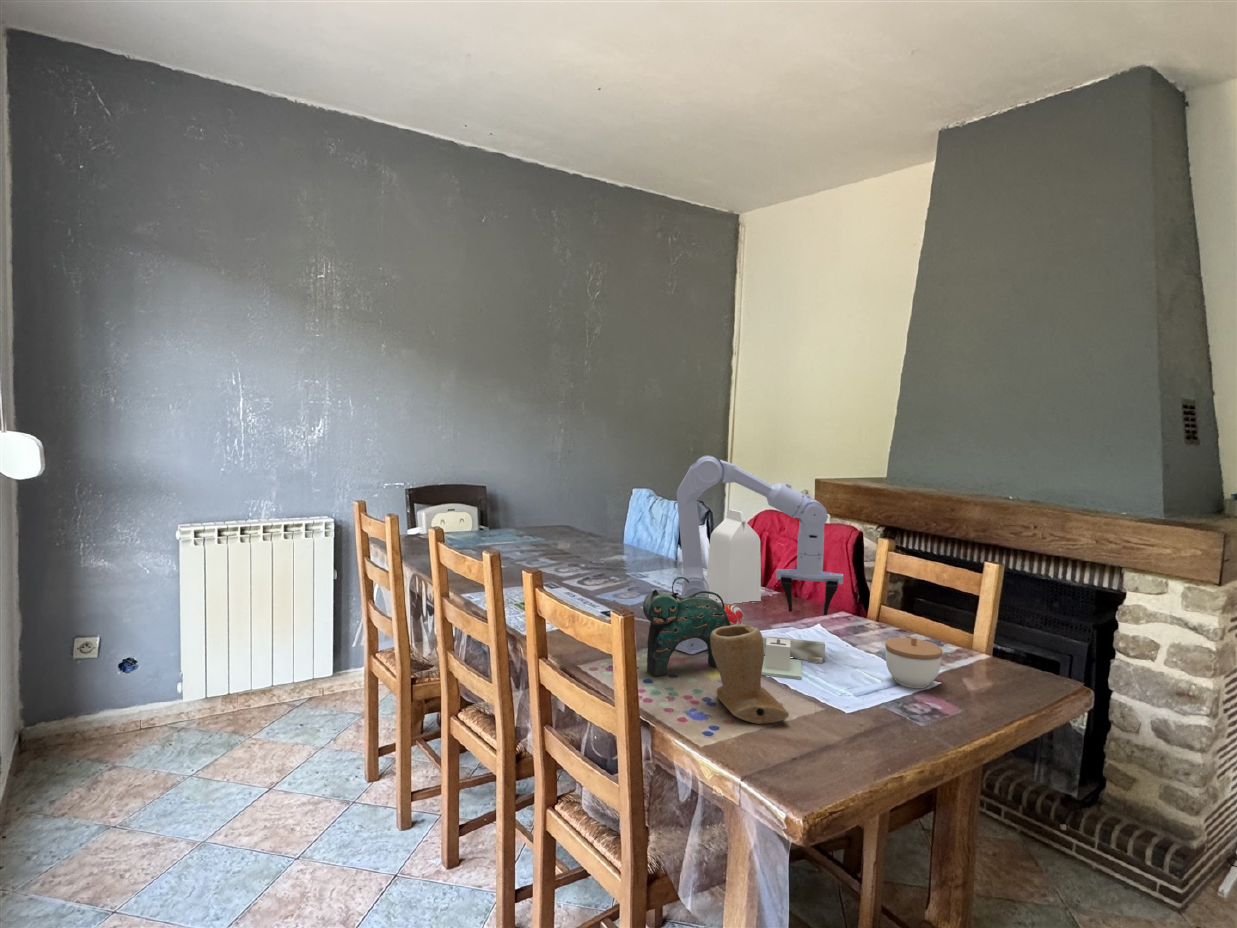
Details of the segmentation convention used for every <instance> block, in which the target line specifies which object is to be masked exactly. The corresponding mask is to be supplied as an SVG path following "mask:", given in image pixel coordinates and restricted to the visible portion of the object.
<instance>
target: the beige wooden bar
mask: <svg viewBox="0 0 1237 928" xmlns="http://www.w3.org/2000/svg"><path fill="white" fill-rule="evenodd" d="M762 638H763V647H764V655H766V640H767V638H777V639H786V640H791V641H790V657H793V658H799V659H804V660H803V661H807V663H809V662H817V663H816V664H819V663H822V664H823V663H825V658H826V657H825V656H826V642H825V641H815V640H807V639H806V640H804V639H796V638H795V639H794V638H788V637H787V638H785V637H777V636H776V637H775V636H767V635H762ZM799 659H798V660H799Z"/></svg>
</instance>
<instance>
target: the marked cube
mask: <svg viewBox="0 0 1237 928" xmlns="http://www.w3.org/2000/svg"><path fill="white" fill-rule="evenodd" d="M790 641H791V640H786V639H777V638H767V640H766V655H765V668H771V669H780V670H788V671H789V666H790Z"/></svg>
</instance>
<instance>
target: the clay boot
mask: <svg viewBox="0 0 1237 928" xmlns="http://www.w3.org/2000/svg"><path fill="white" fill-rule="evenodd" d="M762 636H763V635H762V633H761V630H760V629H759V628H758V627H753V626H752V625H749V624H744V625H731V626H723V627H720V628H717V629H715V630H713V631H712V633H711V635H710V643H711V650H712V655H713V657H714V660H715V663H716V665H717V668H716V669H717V670H718V673H719V676H720V680H721V684H722V685H720V686H719V687H718V688H717V689H716V695H717V698H718V700H719V701H720V702H721V703H722V704H723V706H724V707H725V708H726V709H727V710H729V712H730V713H731V715H733V716H734V717H736V718H738V719H740V720H743V721H745V722H749V723H753V724H759V725H760V724H763V725H764V724H765V725H766V724H773V723H776V722H780V721H784V720H786V719H787V718H788V717H789V715H790V714H789V712H788V711H787V710H786V708H784V706H783V705H782V704H781V703H780V702H779V701H778V700H777V699H776V698H775V697H774V696H773V695H772V694H771V693H770V692H769V691H768V690H767V689H765V687H762V686H761V684H762V683H761V680H762V679H761V678H762V675H761V672H762V667H763V661H764V647H763V638H762Z"/></svg>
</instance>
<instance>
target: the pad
mask: <svg viewBox="0 0 1237 928" xmlns="http://www.w3.org/2000/svg"><path fill="white" fill-rule="evenodd" d="M761 676H768V677H775V678H776V677H777V678H783V679H784V678H785V679H793V680H802V678H803V677H802V660H799V659H790V666H789V671H788V670H780V669H771V668H765V656H764V661H763V667H762V672H761Z"/></svg>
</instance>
